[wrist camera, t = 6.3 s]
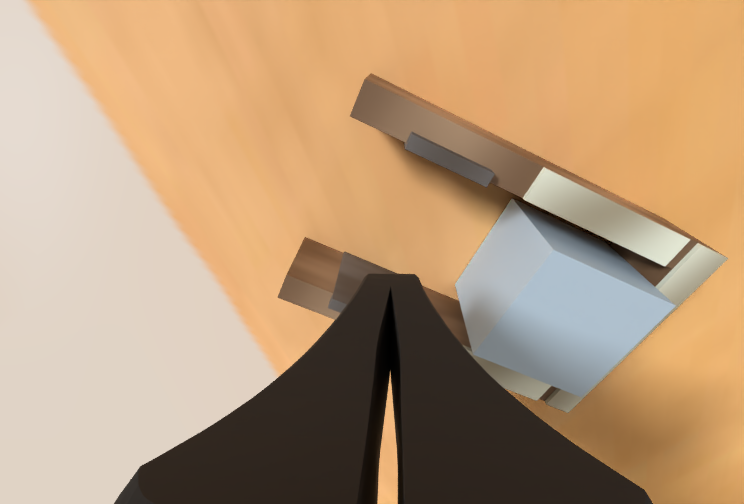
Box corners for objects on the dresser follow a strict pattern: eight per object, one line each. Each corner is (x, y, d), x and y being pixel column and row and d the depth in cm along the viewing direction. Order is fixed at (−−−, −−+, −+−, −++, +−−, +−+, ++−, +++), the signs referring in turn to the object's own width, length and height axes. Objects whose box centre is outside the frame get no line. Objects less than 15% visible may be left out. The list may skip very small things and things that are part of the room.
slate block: (605, 242, 18) (676, 305, 13) (539, 320, 20) (581, 397, 15) (512, 198, 17) (553, 249, 12) (454, 284, 19) (473, 354, 15)
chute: (663, 218, 17) (735, 262, 13) (541, 356, 21) (570, 418, 17) (371, 73, 15) (363, 79, 11) (296, 257, 19) (274, 304, 15)
